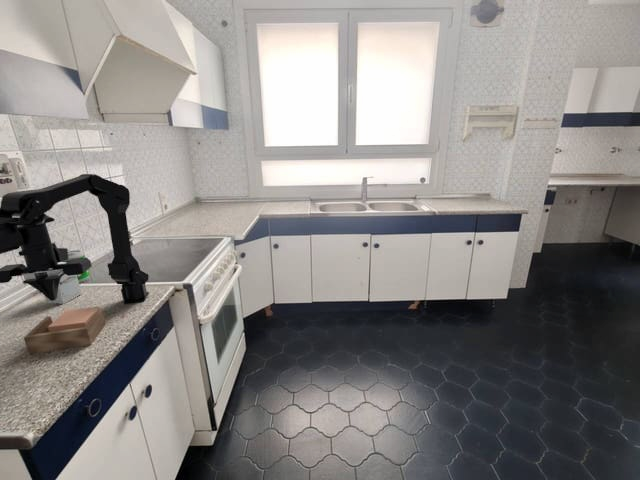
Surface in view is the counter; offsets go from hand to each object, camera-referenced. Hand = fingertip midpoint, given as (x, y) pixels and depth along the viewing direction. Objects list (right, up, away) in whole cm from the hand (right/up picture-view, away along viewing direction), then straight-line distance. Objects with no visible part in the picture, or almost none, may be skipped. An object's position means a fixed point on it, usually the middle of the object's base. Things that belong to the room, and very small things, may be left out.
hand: (53, 299), depth 81 cm
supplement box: (-21, -5, +28) cm, 36 cm away
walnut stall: (0, -12, +6) cm, 13 cm away
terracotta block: (-2, -11, +10) cm, 15 cm away
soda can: (-27, -1, +43) cm, 51 cm away
